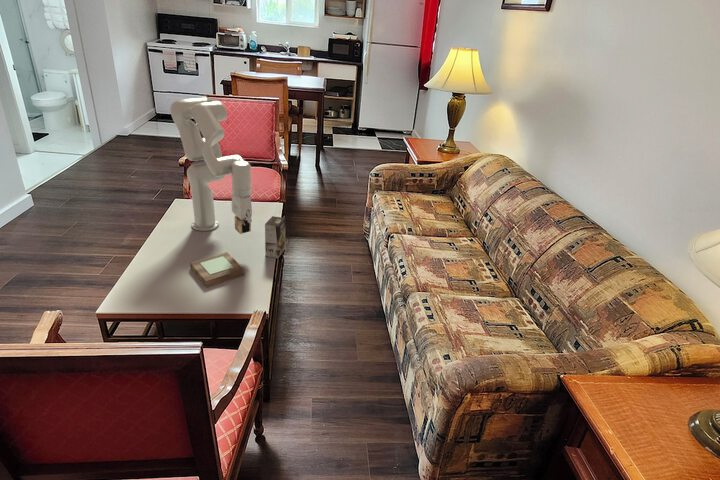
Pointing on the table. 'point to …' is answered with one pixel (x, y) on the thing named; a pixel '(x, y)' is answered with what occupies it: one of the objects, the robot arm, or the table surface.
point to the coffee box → (275, 237)
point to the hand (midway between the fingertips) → (242, 228)
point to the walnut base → (216, 269)
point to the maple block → (240, 225)
